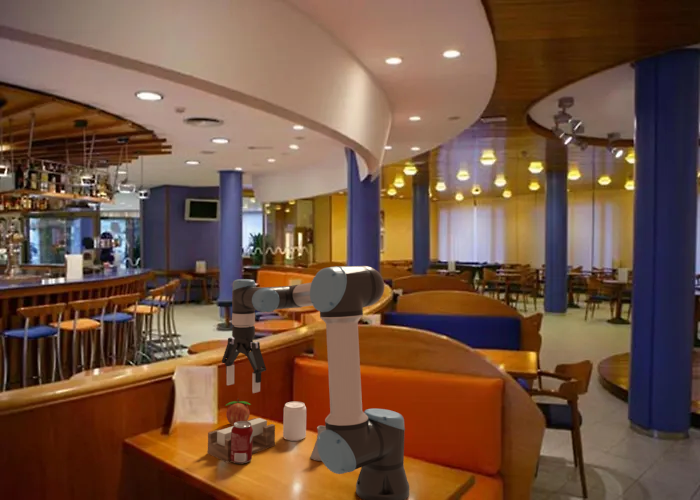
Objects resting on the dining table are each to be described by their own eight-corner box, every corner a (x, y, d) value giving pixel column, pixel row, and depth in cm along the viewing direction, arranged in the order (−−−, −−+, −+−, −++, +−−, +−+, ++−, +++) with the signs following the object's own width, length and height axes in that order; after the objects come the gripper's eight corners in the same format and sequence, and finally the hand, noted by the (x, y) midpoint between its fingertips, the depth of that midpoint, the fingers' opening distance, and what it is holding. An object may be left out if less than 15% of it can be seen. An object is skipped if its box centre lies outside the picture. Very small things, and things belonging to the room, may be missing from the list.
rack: (254, 437, 198) (254, 418, 198) (275, 445, 191) (275, 425, 191) (207, 453, 183) (207, 432, 183) (228, 462, 176) (228, 441, 176)
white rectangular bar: (259, 429, 195) (259, 417, 195) (266, 431, 193) (266, 420, 193) (217, 443, 182) (217, 431, 182) (224, 446, 179) (224, 434, 179)
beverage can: (280, 435, 201) (280, 402, 200) (301, 432, 204) (301, 400, 204) (287, 443, 193) (287, 409, 193) (309, 439, 197) (309, 406, 197)
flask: (306, 459, 180) (306, 428, 180) (317, 451, 187) (318, 422, 186) (325, 463, 177) (326, 432, 177) (336, 455, 183) (336, 425, 183)
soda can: (247, 466, 174) (249, 429, 173) (226, 463, 175) (228, 426, 174) (254, 457, 180) (256, 421, 180) (234, 455, 181) (236, 419, 181)
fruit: (248, 428, 207) (248, 402, 207) (222, 428, 206) (222, 402, 206) (251, 421, 215) (252, 395, 215) (227, 421, 215) (227, 395, 215)
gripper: (277, 328, 181) (276, 392, 181) (229, 320, 197) (229, 379, 197) (259, 331, 175) (258, 397, 176) (211, 322, 191) (211, 383, 192)
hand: (243, 388), depth 186 cm, fingers open, 13 cm apart
